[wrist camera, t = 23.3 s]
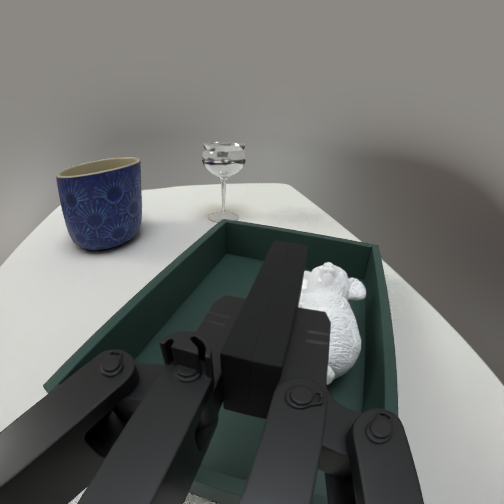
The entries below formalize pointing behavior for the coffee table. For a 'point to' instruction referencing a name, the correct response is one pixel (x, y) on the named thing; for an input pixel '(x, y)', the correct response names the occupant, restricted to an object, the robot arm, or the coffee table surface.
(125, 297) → the coffee table surface
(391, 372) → the bin
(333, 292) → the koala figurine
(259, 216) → the coffee table surface
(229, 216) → the wineglass
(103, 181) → the planter
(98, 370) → the robot arm
